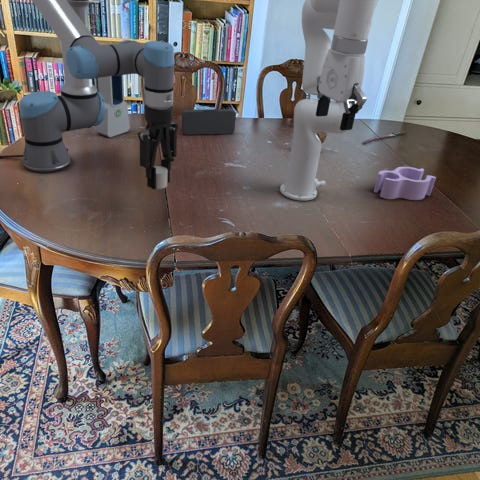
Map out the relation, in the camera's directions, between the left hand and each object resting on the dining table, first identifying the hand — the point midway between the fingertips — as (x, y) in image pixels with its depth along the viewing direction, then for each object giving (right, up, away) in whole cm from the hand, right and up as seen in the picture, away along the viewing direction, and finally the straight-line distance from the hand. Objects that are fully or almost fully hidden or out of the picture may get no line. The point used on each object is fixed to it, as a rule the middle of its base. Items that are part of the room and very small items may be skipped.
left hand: (158, 184), depth 136 cm
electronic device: (-28, +27, +54) cm, 66 cm away
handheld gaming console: (+10, +29, +63) cm, 70 cm away
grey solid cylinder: (0, 0, 0) cm, 0 cm away
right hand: (+46, +12, -25) cm, 54 cm away
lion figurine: (+52, +21, +57) cm, 80 cm away
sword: (+90, +30, +78) cm, 123 cm away
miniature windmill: (+52, +38, +83) cm, 105 cm away
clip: (+81, +1, +31) cm, 87 cm away
